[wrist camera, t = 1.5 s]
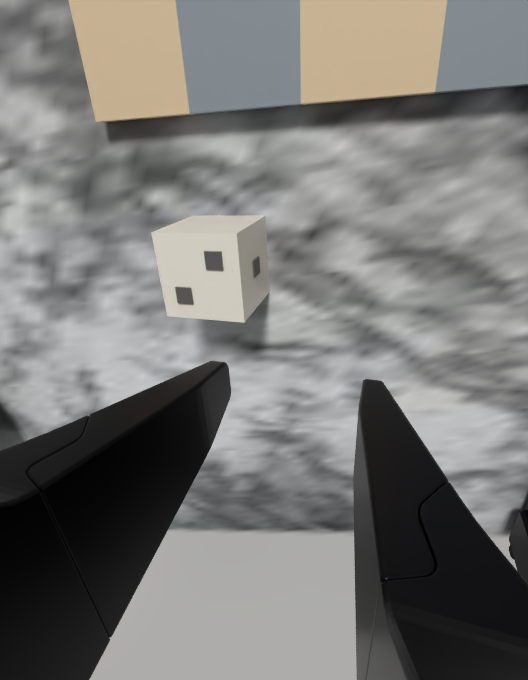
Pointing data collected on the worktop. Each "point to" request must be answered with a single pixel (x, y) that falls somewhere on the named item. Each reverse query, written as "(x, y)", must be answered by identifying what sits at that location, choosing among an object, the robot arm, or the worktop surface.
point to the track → (291, 52)
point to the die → (213, 266)
